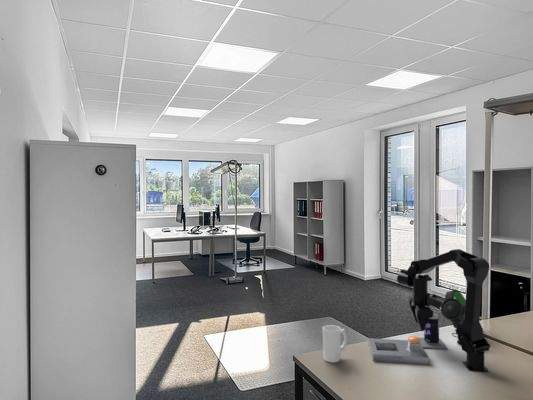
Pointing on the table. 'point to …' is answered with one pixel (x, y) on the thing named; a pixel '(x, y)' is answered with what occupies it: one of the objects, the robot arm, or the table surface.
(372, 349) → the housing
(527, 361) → the table surface
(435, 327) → the beverage can
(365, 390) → the table surface
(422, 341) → the pad
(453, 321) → the headset
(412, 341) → the peach dome cap
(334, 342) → the mug
